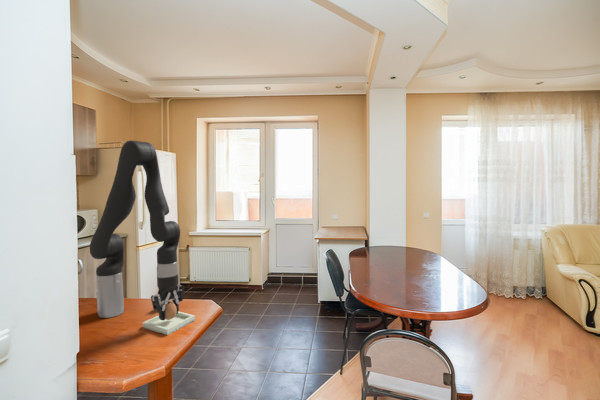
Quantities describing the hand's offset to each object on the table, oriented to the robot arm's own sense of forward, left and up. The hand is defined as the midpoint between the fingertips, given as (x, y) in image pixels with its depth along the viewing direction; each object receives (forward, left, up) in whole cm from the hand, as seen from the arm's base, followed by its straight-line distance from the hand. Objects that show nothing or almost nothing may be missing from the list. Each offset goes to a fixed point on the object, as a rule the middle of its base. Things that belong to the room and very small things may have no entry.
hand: (169, 316), depth 122 cm
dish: (0, 0, -3) cm, 3 cm away
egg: (0, 0, -1) cm, 1 cm away
